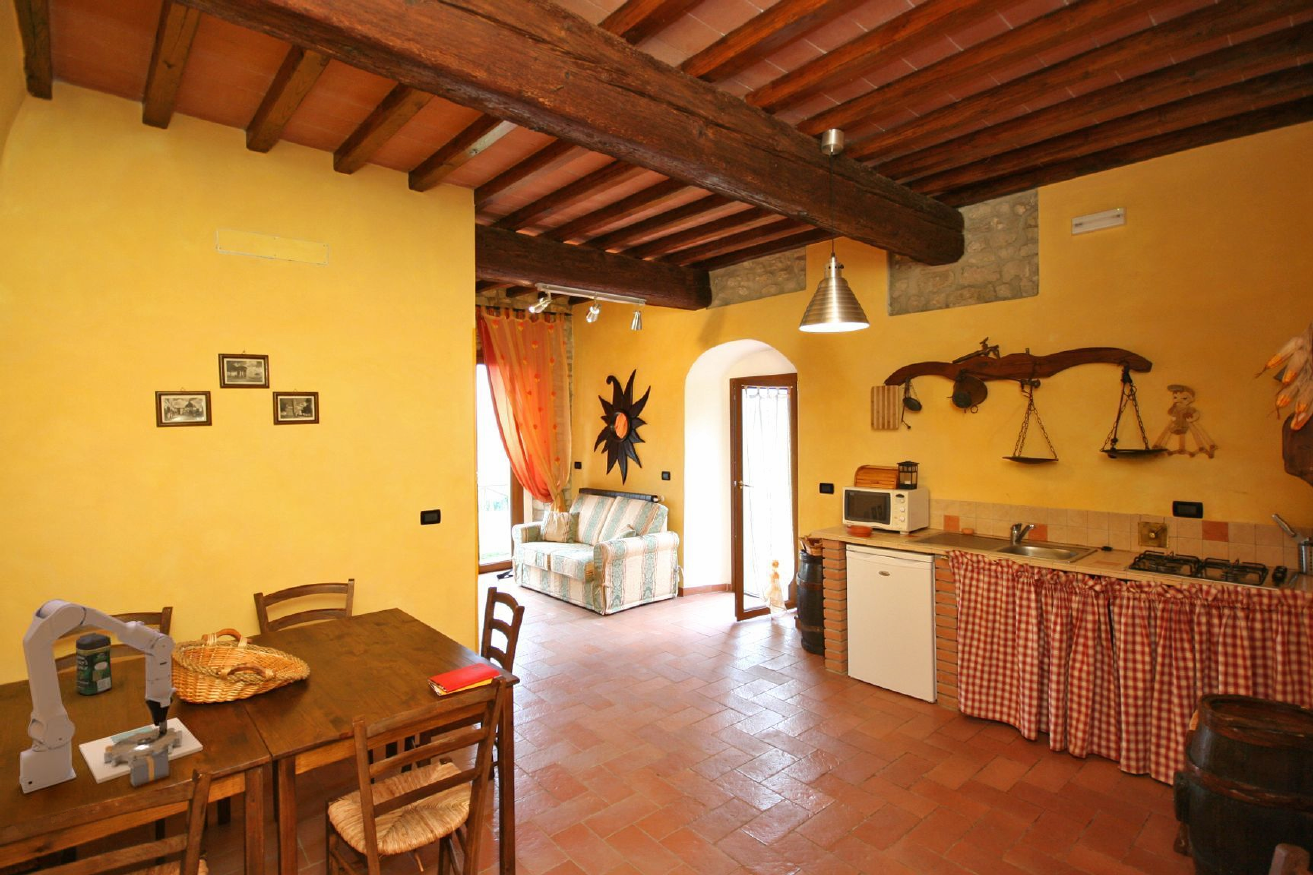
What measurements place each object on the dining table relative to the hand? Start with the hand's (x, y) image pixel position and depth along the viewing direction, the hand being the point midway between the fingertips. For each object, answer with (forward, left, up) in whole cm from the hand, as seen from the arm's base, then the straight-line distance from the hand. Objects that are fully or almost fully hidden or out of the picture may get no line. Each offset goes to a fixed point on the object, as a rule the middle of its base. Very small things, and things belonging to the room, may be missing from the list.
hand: (159, 724), depth 184 cm
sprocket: (-5, -7, -3) cm, 9 cm away
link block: (-7, -23, -4) cm, 24 cm away
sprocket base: (-5, -3, -4) cm, 7 cm away
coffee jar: (-6, +57, -4) cm, 58 cm away
